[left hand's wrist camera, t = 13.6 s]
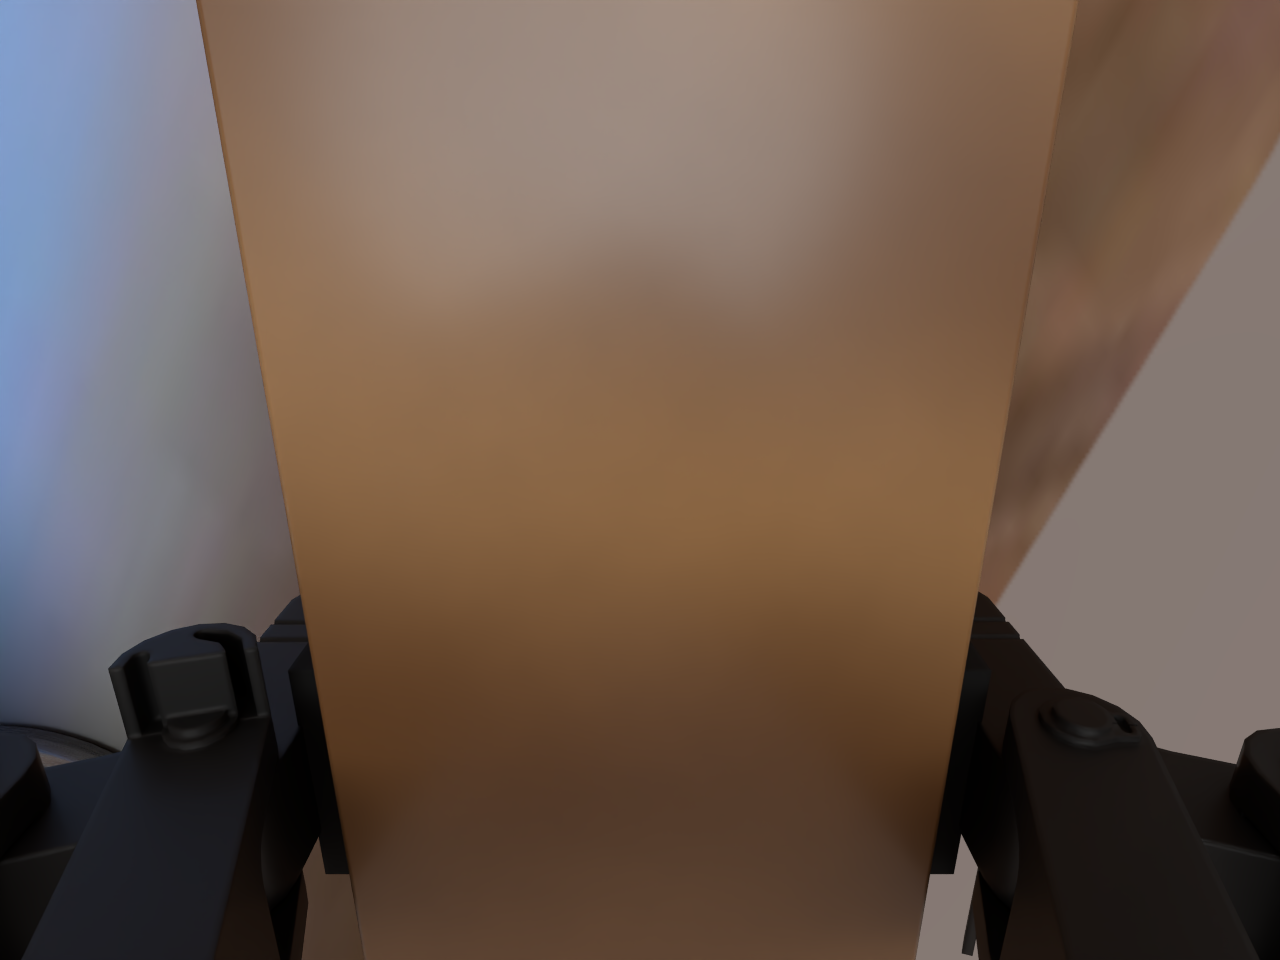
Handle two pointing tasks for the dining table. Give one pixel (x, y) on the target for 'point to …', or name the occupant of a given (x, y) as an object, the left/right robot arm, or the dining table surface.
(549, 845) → the beam
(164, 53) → the dining table surface
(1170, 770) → the left robot arm
